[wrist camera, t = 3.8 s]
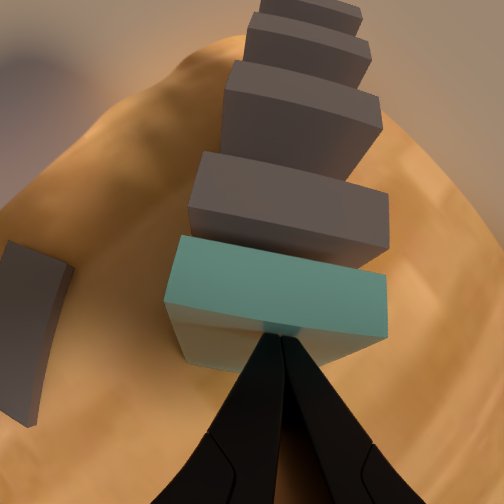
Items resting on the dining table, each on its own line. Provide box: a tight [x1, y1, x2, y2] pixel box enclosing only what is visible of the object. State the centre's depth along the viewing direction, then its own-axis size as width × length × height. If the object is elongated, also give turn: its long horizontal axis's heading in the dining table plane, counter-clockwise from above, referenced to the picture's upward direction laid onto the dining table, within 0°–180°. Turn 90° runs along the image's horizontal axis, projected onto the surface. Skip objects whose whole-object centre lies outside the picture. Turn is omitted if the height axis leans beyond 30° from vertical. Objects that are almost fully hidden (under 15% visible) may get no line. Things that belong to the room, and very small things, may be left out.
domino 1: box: [0, 240, 75, 428], centre depth 14 cm, size 10×5×2 cm, turn 166°
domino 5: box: [187, 151, 389, 269], centre depth 12 cm, size 2×5×10 cm, turn 81°
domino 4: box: [220, 60, 383, 181], centre depth 13 cm, size 2×5×10 cm, turn 81°
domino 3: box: [243, 12, 372, 89], centre depth 15 cm, size 2×5×10 cm, turn 81°
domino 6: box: [163, 235, 388, 373], centre depth 11 cm, size 2×5×10 cm, turn 80°
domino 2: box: [259, 0, 363, 37], centre depth 16 cm, size 2×5×10 cm, turn 81°
